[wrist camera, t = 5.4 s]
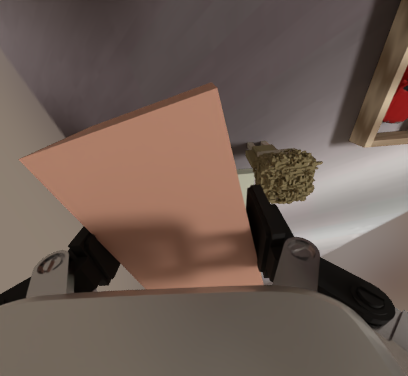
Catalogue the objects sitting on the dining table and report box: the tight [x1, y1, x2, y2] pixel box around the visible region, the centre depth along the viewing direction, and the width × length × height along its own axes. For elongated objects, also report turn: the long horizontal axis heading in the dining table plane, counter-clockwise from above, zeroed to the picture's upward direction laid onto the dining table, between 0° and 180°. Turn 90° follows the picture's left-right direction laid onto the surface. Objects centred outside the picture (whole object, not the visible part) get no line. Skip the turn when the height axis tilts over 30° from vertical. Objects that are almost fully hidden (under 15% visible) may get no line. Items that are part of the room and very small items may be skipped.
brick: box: [19, 83, 263, 289], centre depth 10 cm, size 12×7×4 cm, turn 17°
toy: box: [245, 141, 323, 204], centre depth 25 cm, size 7×7×15 cm
